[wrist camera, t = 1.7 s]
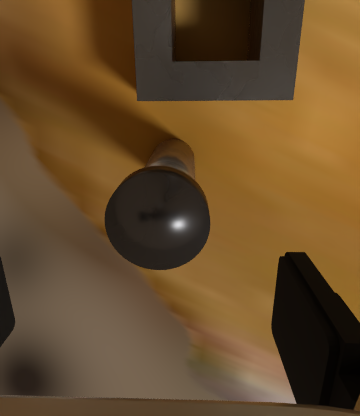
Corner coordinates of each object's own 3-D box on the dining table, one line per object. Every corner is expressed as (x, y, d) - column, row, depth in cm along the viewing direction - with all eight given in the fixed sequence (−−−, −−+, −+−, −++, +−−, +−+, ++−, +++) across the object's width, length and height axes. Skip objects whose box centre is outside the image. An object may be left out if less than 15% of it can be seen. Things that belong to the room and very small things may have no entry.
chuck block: (140, -57, 21) (126, -97, 17) (288, -61, 21) (316, -103, 16) (147, 98, 25) (137, 101, 20) (273, 97, 25) (293, 99, 20)
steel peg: (144, 131, 26) (99, 173, 13) (201, 131, 26) (211, 173, 13) (146, 186, 28) (109, 269, 15) (200, 187, 27) (208, 270, 15)
